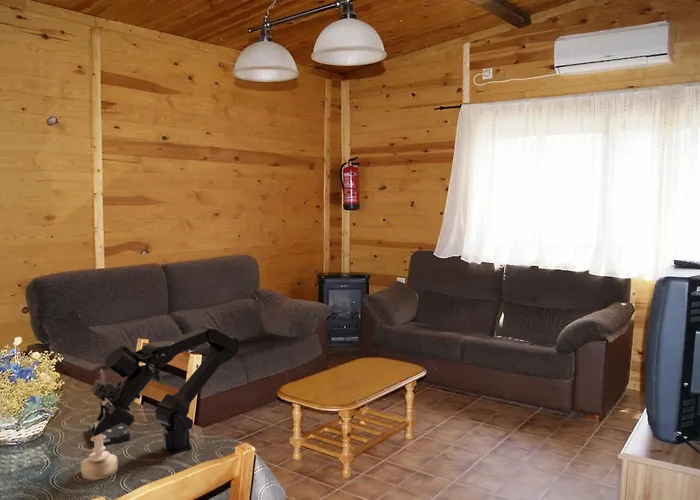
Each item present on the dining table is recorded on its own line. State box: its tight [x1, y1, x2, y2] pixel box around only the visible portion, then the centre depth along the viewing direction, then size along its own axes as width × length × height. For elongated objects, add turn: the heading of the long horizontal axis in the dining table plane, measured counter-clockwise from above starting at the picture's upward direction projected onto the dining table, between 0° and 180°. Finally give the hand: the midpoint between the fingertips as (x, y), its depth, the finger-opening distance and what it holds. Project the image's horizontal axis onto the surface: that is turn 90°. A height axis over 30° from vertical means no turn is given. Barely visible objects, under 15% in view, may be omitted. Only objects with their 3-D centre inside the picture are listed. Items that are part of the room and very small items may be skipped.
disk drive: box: [88, 423, 131, 448], centre depth 187 cm, size 10×3×15 cm
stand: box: [80, 453, 119, 481], centre depth 162 cm, size 9×9×3 cm
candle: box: [88, 420, 111, 461], centre depth 162 cm, size 5×5×10 cm
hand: (92, 434), depth 161 cm, fingers closed on candle
